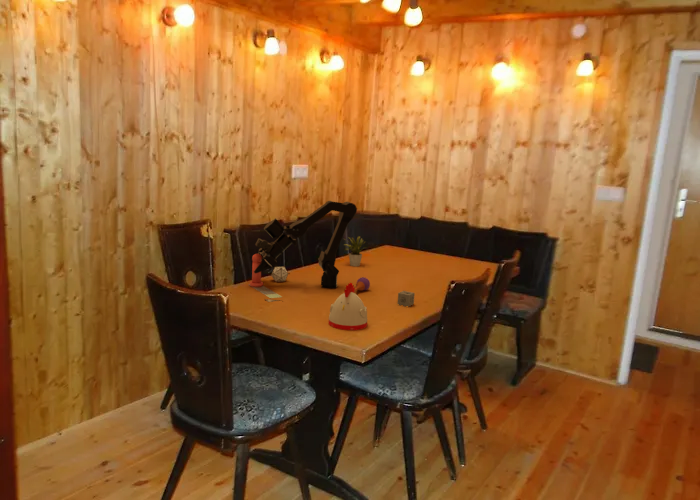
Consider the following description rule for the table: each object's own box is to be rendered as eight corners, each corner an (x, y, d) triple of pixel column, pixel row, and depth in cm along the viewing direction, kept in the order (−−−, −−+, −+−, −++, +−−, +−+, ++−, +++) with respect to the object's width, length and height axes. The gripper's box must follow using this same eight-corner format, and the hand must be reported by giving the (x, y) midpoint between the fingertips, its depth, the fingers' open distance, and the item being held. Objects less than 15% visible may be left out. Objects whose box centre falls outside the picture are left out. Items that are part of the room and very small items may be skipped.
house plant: (343, 261, 313) (345, 232, 310) (368, 263, 311) (370, 234, 308) (339, 266, 299) (341, 235, 296) (365, 268, 297) (367, 237, 294)
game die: (281, 291, 256) (285, 277, 249) (265, 283, 257) (268, 269, 250) (290, 279, 262) (294, 265, 255) (274, 271, 263) (277, 257, 256)
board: (243, 286, 247) (243, 283, 247) (261, 284, 251) (261, 282, 251) (268, 301, 225) (268, 299, 224) (288, 299, 229) (288, 297, 229)
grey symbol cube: (408, 307, 229) (409, 295, 228) (397, 304, 232) (398, 293, 231) (413, 304, 233) (414, 292, 232) (402, 302, 236) (403, 290, 235)
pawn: (264, 284, 248) (265, 252, 245) (261, 287, 242) (262, 255, 240) (251, 283, 248) (252, 252, 246) (248, 286, 243) (249, 254, 240)
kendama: (340, 288, 237) (358, 276, 255) (342, 302, 238) (360, 288, 256) (353, 288, 235) (370, 275, 253) (355, 301, 236) (372, 288, 254)
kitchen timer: (322, 326, 199) (324, 284, 196) (337, 316, 211) (339, 277, 209) (359, 332, 194) (362, 290, 191) (372, 322, 207) (375, 282, 204)
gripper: (264, 229, 251) (238, 253, 250) (270, 236, 233) (242, 262, 232) (281, 246, 255) (255, 270, 254) (288, 254, 237) (261, 280, 236)
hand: (253, 270), depth 244 cm, fingers open, 7 cm apart
